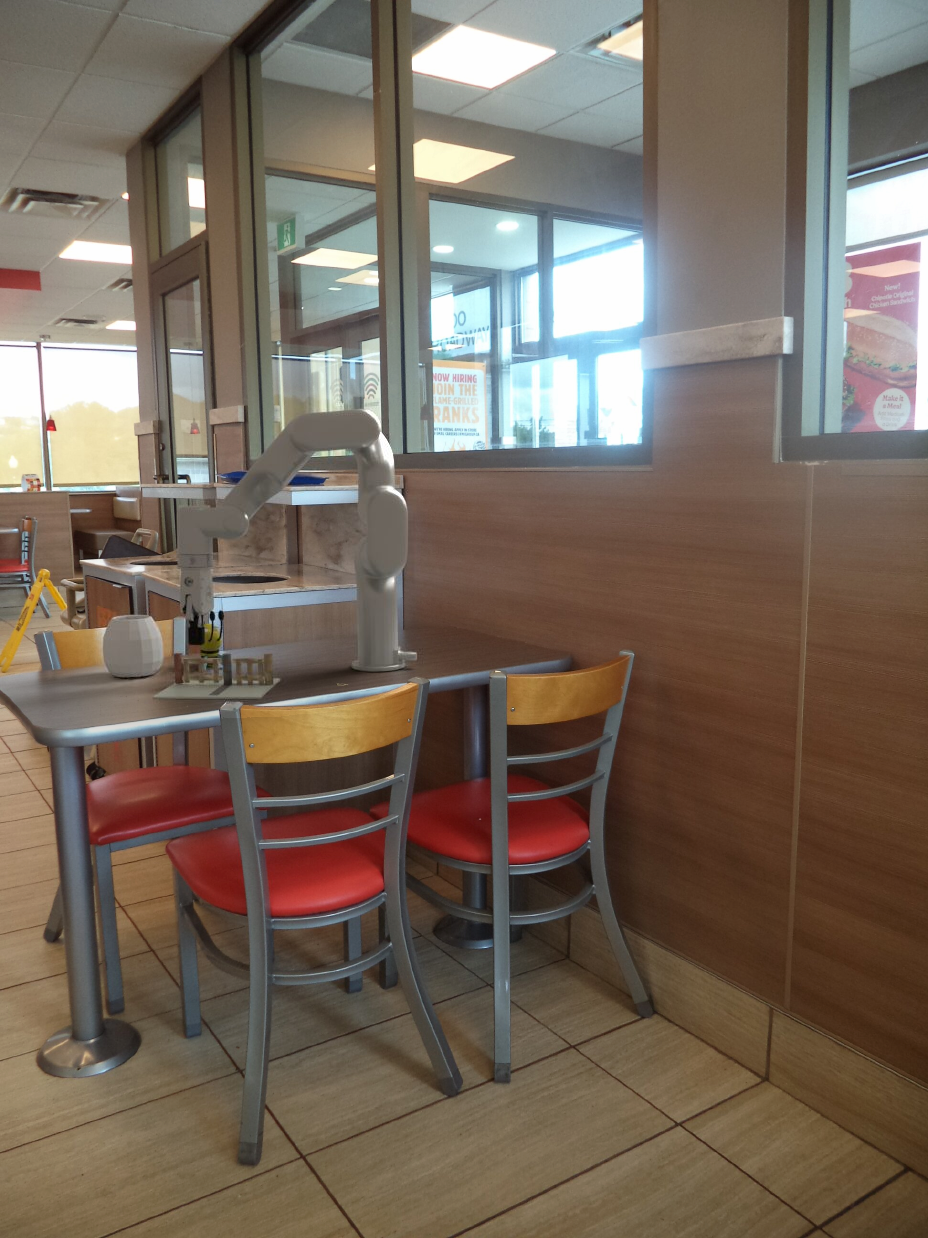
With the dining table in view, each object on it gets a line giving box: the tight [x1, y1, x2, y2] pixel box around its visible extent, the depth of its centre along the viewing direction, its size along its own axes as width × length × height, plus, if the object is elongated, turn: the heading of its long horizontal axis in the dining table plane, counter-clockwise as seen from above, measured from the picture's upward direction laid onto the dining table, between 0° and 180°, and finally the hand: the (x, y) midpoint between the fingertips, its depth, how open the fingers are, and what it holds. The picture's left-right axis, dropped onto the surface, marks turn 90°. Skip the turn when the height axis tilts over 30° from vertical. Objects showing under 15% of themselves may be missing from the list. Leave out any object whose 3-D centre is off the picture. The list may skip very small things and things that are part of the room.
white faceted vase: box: [102, 614, 165, 678], centre depth 221 cm, size 13×13×14 cm
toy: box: [198, 609, 225, 672], centre depth 230 cm, size 6×14×15 cm
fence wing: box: [173, 652, 223, 684], centre depth 209 cm, size 10×2×6 cm, turn 88°
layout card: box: [152, 677, 281, 700], centre depth 206 cm, size 22×19×1 cm
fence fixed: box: [221, 653, 274, 685], centre depth 208 cm, size 11×2×7 cm, turn 88°
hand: (196, 644), depth 215 cm, fingers closed
